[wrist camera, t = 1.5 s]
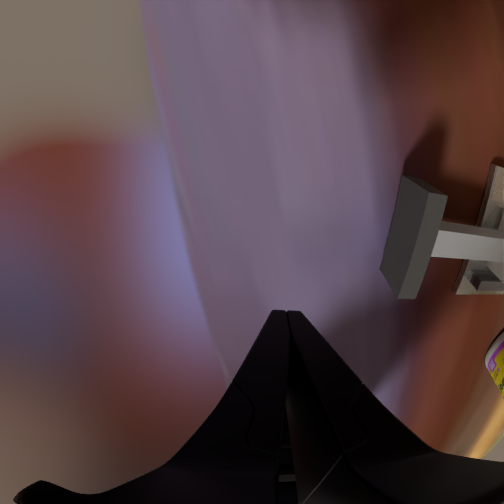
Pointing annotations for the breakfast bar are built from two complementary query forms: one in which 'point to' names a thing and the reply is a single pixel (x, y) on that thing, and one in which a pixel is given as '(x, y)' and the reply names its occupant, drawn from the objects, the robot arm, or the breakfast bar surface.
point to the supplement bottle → (496, 362)
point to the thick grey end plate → (432, 238)
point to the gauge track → (493, 205)
